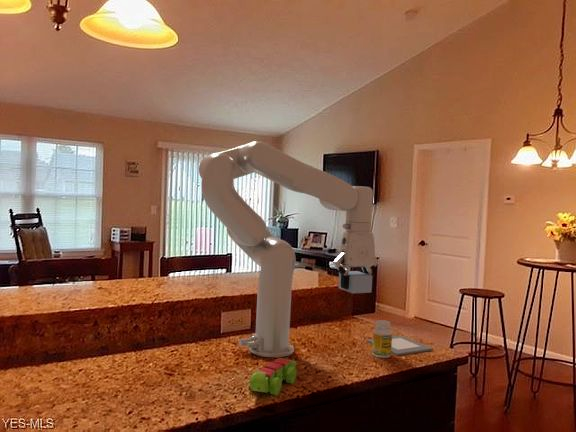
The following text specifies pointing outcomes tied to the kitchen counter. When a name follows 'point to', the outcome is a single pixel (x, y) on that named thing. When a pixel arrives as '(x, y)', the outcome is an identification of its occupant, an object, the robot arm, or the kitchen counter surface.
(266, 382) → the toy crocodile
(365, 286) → the light blue block
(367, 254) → the robot arm
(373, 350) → the supplement bottle
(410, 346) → the base plate
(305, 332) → the kitchen counter surface
